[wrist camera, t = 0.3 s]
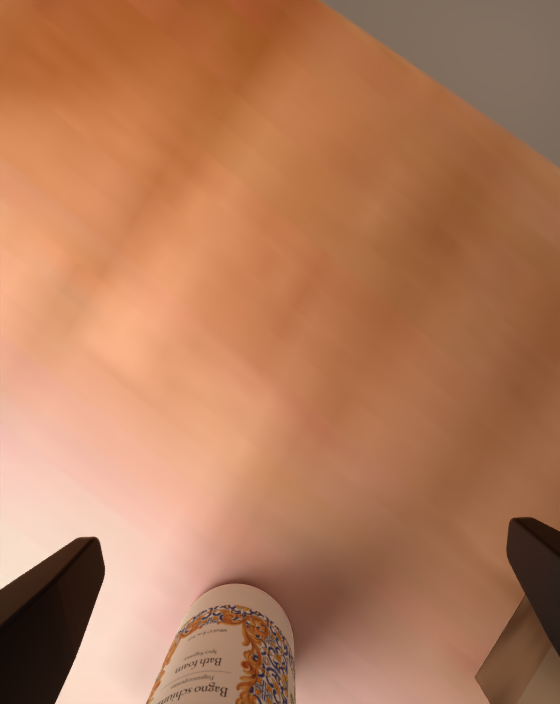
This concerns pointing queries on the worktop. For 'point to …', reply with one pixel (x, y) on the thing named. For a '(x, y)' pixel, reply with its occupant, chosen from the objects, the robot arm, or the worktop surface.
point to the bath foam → (229, 652)
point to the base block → (522, 663)
